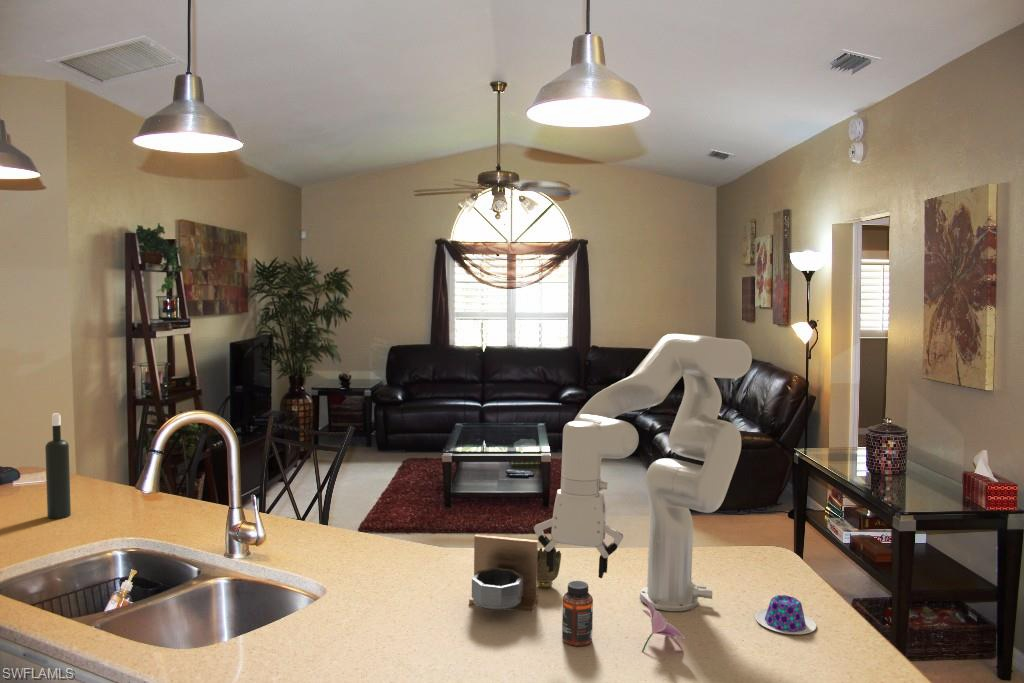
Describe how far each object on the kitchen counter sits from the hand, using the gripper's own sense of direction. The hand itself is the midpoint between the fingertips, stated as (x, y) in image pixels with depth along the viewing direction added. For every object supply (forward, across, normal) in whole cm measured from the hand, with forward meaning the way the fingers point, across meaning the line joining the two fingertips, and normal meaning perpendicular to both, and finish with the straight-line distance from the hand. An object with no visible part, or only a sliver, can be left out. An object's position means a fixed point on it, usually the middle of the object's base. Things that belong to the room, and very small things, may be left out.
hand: (576, 572), depth 146 cm
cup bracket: (+14, +17, -10) cm, 24 cm away
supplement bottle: (+14, -1, -1) cm, 14 cm away
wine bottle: (+16, +155, -37) cm, 160 cm away
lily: (+14, -17, -2) cm, 22 cm away
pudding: (+13, -42, -20) cm, 48 cm away
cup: (+14, +10, -25) cm, 30 cm away
